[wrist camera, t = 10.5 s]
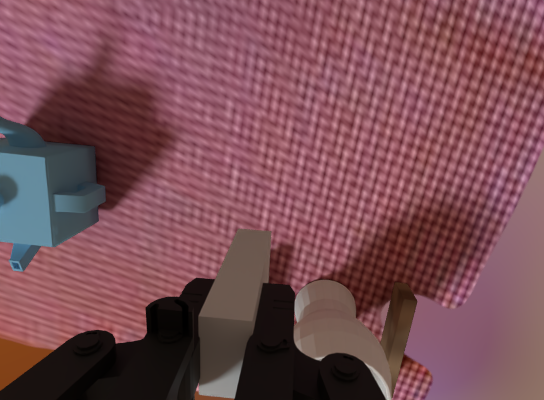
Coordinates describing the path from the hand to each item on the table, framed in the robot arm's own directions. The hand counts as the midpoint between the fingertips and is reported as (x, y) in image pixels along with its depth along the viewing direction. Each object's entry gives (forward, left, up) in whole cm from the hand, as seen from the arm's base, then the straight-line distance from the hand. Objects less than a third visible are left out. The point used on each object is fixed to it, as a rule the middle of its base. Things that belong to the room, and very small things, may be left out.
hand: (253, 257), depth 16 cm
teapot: (+5, -26, -26) cm, 37 cm away
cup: (+17, +8, -26) cm, 32 cm away
